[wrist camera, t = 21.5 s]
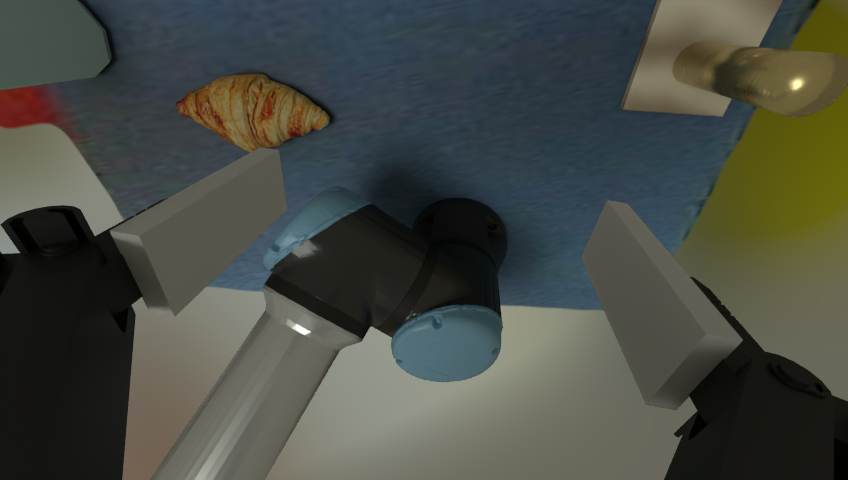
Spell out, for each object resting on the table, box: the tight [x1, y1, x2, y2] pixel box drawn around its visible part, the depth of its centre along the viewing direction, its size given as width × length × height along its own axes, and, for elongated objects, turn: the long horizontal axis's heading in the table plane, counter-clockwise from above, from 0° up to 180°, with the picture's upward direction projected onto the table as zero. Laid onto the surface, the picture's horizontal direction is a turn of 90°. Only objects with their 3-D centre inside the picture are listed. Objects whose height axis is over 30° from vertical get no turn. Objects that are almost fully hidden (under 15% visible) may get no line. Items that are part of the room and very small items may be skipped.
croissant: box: [176, 73, 330, 153], centre depth 44 cm, size 21×10×8 cm, turn 88°
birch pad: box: [620, 0, 782, 117], centre depth 36 cm, size 11×11×1 cm
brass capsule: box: [673, 42, 848, 117], centre depth 29 cm, size 4×4×16 cm
